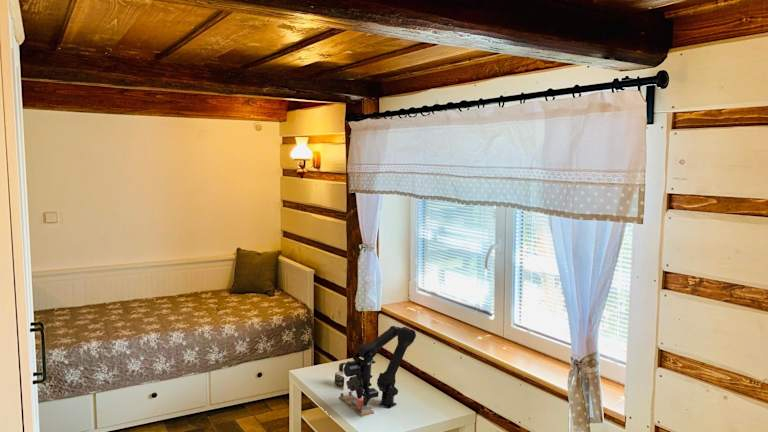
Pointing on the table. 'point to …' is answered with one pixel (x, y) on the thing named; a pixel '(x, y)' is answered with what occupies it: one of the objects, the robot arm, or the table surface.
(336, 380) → the cream yellow box
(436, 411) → the table surface
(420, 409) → the table surface
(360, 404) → the tab
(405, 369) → the table surface
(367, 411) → the plank
